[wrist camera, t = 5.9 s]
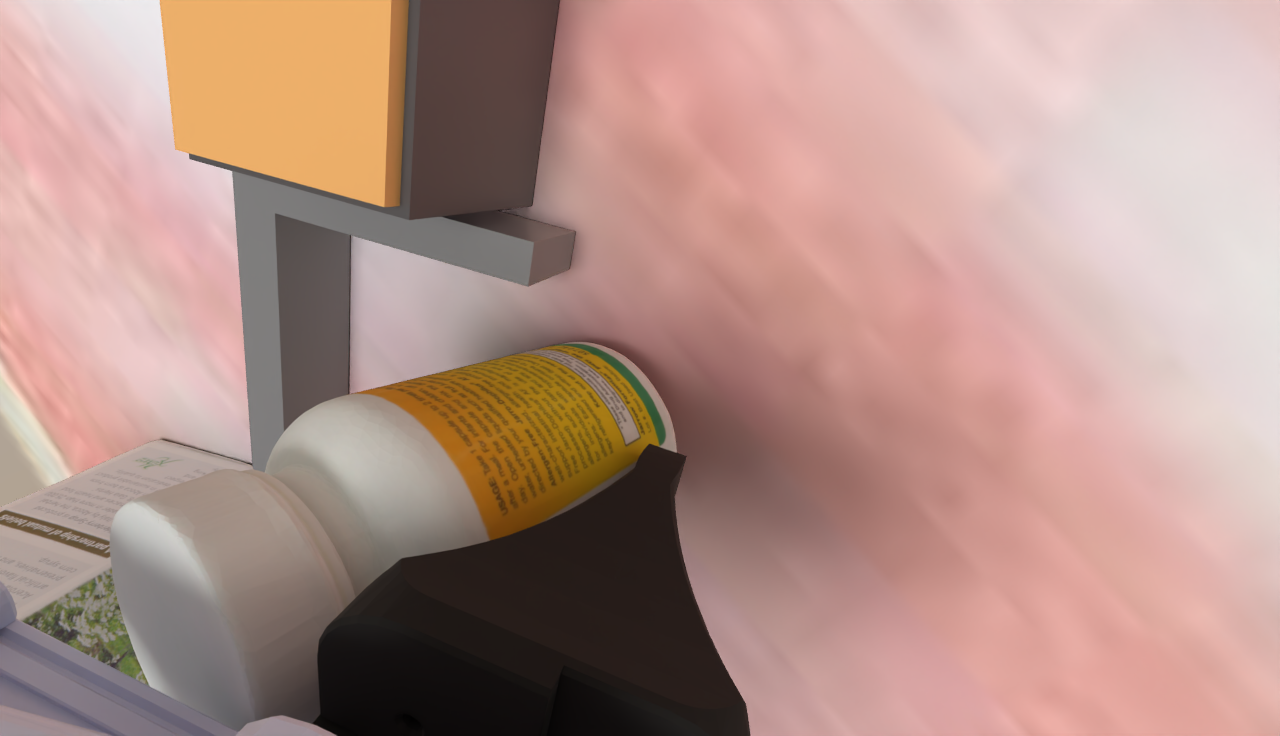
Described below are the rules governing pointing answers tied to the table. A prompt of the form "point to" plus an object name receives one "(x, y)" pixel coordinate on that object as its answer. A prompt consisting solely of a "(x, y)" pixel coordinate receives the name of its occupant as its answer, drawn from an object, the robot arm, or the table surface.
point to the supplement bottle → (363, 514)
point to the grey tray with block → (359, 159)
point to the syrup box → (87, 546)
